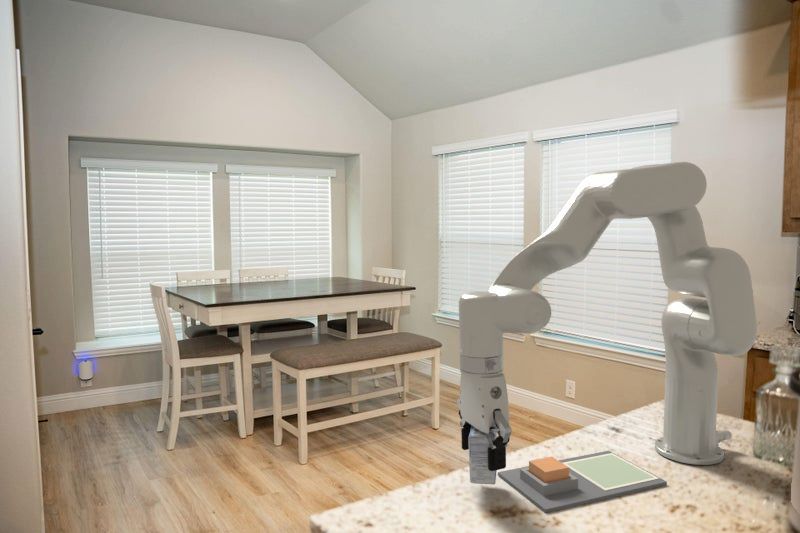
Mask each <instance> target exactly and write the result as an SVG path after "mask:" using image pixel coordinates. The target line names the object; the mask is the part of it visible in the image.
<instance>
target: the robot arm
mask: <svg viewBox="0 0 800 533" xmlns="http://www.w3.org/2000/svg"><path fill="white" fill-rule="evenodd" d="M707 184H708V183H707V178H706V175H705V173H704V172H703V170H702V169H701V168H700V167H699V166H697V165H696V164H695V163H692V162H689V161H679V162H677V161H676V162H667V163H655V164H648V165H647V164H645V165H641V166H635V167H631V168H628V169H627V168H625V169H617V170H609V171H607V170H606V171H600V172H599V171H598V172H594V173H592V174H589V175H588V176H587V175H586V177H585V178H583V179H582V180H581V182H580V183H578V185H577V187H576V188H575V190H574V191H573V192H572V194H571V195H570V197H569V198H568V199H567V201H566V203H564V205H563V206H562V208H561V210H560V211H559V212H558V213H557V215H556V216H555V217H554V219H553V220H552V222H551V223H550V224H549V226H548V227H547V229H545V231H544V232H543V233H542V234H541V235H540V236H538V237H537V238H535V239H534V240H533V241H531V242H530V243H529V244H528V245H527V246H526V247H525V248H522V250H520V251H519V252H518V253H517V254H516V255H514V256H513V257H512V258H511V259H510V260H509V261H508V262H507V263H506V265H505V266H504V267H503V268H502V269H501V271H500V272H499V273H498V274H497V276H496V278H495V279H494V280H493V282H492V283H491V284H490V286H489V287H488V290H487V291H470V292H466V293H462V295H461V296H460V298H459V299H458V326H459V328H458V329H459V333H458V334H459V337H458V338H459V372H460V380H459V382H460V383H459V397H458V398H457V400H456V403H457V407H458V416H459V418H460V421H459V426H460V427H461V428H460V430H461V431H460V433H461V436H460V437H461V449H462V450H463V451H466V450H468V451H469V434H470V430H471V426H474V427H475V428H477V429H478V430H480V431H481V432H483V433H485V434H486V436H487V439H488V442H489V445H490V447H488V469H489V470H490V471H495V470H497V471H498V470H500V471H501V470H503V469H504V470H505V469H506V468H507V448H506V447H508V445H509V444H508V443H510V437H511V436H512V432H513V430H512V427H511V425H510V408H509V396H508V388H507V382H506V377H505V374H504V334H524V335H525V334H527V335H528V334H535V333H538V332H539V331H541V330H543V329H544V328H546V326H547V325H548V324H549V322H550V320H551V318H552V308H551V304H550V302H549V300H548V299H547V298H546V297H545V296H544V295H542V294H540V293H539V292H537V291H534V290H533V289H534V288H535V286H537V284H540V282H541V281H543V280H544V279H546V278H547V277H548V276H551V275H552V274H554V273H557V272H559V271H562V270H566V269H567V268H568V269H569V268H571V267H573V266H575V265H577V264H580V263H581V262H583V261H584V260H585V259H586V258H587V257H588V255H589V254H590V252H591V251H592V250H593V248H594V247H595V245H596V244H597V242H598V240H600V238H601V237H602V235H603V233H604V232H605V231H606V229H607V228H608V226H609V225H610V224H611V223H612V221H613V220H617V219H618V220H619V219H621V220H622V219H623V220H624V219H627V220H628V219H629V220H630V219H643V218H647V219H648V220H649V222H650V223H651V225H652V227H653V229H654V232H655V237H656V242H657V248H658V250H657V251H658V255H659V262H660V269H661V274H662V280H663V282H664V284H665V286H666V288H668V289H669V290H670V291H673V292H674V293H678V294H684V295H688V296H694V297H699V298H694V297H681V298H677V299H674V300H672V301H671V302H669V303H668V304H667V305H666V307H665V308H664V310H663V312H662V315H661V330H662V331H661V332H662V336H663V341H664V342H663V343H664V350H665V351H664V352H665V374H664V376H665V377H664V378H665V380H664V401H663V402H664V404H663V405H664V406H663V430H662V431H663V435H662V437H659V438H657V439H656V440H655V441H654V449H655V451H656V452H657V453H658V454H659V455H660V456H663V457H665V458H667V459H670V460H672V461H675V462H678V463H682V464H689V465H695V466H710V465H716V464H719V463H721V462H723V460H724V459H725V458H724V456H725V452H724V450H723V449H722V448H721V447H720V446H719V444H720V443H721V442H722V441H727V440H730V439H732V433H731V431H730V430H728V429H723V430H719V431H718V430H717V415H718V414H717V413H718V389H719V366H718V361H717V358H716V356H715V354H718V355H723V356H727V357H738V356H742V355H745V354H746V353H749V351H750V350H751V349H752V347H753V346H754V344H755V342H756V341H755V340H756V338H757V333H758V332H757V328H758V325H757V317H756V316H757V315H756V307H755V305H756V304H755V299H754V298H755V296H754V291H753V290H754V289H753V284H752V276H751V271H750V268H749V266H748V264H747V262H746V260H745V259H744V257H743V256H742V255H741V254H740V253H738V252H737V251H736V250H732V249H730V248H725V247H715V246H713V247H712V246H710V245H708V242H707V238H706V237H707V236H706V233H705V227H704V223H703V222H704V221H703V219H702V215H701V214H700V211H699V209H698V208H697V207H696V206H697V205H699V203H700V202H701V201H702V200H703V198H704V196H705V194H706V191H707V187H708V185H707ZM702 298H705V299H702ZM493 426H496V428H494V429H490V427H493ZM495 433H496V434H497V435H498V436H497V438H496V439H495V440H494V438H493V435H492V434H495Z"/></svg>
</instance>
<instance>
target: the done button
mask: <svg viewBox="0 0 800 533" xmlns="http://www.w3.org/2000/svg"><path fill="white" fill-rule="evenodd" d="M528 466H529V472H530V473H531V474H533V475H534V476H535V477H537V478H538V479H540V480H541V481H542V482H544V483H548V482H553V481H558V480H563V479H568V478H569V467H568V466H566V465H565V464H563V463H561V462H560V461H558V459H557V458H555V457H554V456H548V457H544V458H537V459H533V460H528Z"/></svg>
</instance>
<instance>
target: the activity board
mask: <svg viewBox="0 0 800 533" xmlns="http://www.w3.org/2000/svg"><path fill="white" fill-rule="evenodd" d="M557 460H558V459H557ZM558 461H560V462H561V463H563V464H565V465H566V466H568V467H569V478H568V479H563V480H558V481H553V482H548V483H544V482H542V481H541V480H540V479H538V478H537V477H535V476H534V475H533V474H531V473H530V472H529V465H528V466H522V467H518V468H513V469H507V470H503V471H501V470H500V471H497V476H498V477H499V478H501V479H502V480H503V481H504V482H505V483H506V484H508V485H509V486H510V487H511V488H513V489H514V490H516V491H517V492H518V493H520V495H522V496H523V497H524V498H526V499H527V500H528V501H529V502H531V503H532V504H533V505H534V506H535V507H538V509H540V511H542V512H544V513H545V514H546V513H551V512H555V511H560V510H565V509H568V508H572V507H577V506H581V505H586V504H591V503H594V502H599V501H603V500H607V499H613V498H616V497H620V496H624V495H625V496H626V495H628V494H634V493H637V492H638V493H639V492H642V491H647V490H651V489H655V488H659V487H663V486H667V485H668V482H667V480H664V479H663V478H661V477H660V476H657V475H655V474H653V473H651V472H649V471H648V470H646V469H644V468H643V467H640V466H639V465H637V464H635V463H632V462H631V461H629V460H628V459H626V458H623V457H622V456H620V455H618V454H616V453H614V452H612V451H610V450H606V451H600V452H595V453H589V454H584V455H579V456H574V457H568V458H563V459H559V460H558Z"/></svg>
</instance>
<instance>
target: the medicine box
mask: <svg viewBox="0 0 800 533" xmlns="http://www.w3.org/2000/svg"><path fill="white" fill-rule="evenodd" d="M494 428H497V427H496V426H493V427H490V429H494ZM492 435H493V438H494V440H495V439H496V438H497V437H498V436H497V433H495V434H492ZM488 447H490V445H489V442H488V439H487V436H486V434H485V433H483V432H481V431H480V430H478V429H477V428H475V427H474V426H471V430H470V434H469V449H468V464H469V465H468V466H469V482H470V483H471V484H479V485H493V486H494V485H495V484H496V482H497V473H498V470H495V471H490V470H489V469H488Z"/></svg>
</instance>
